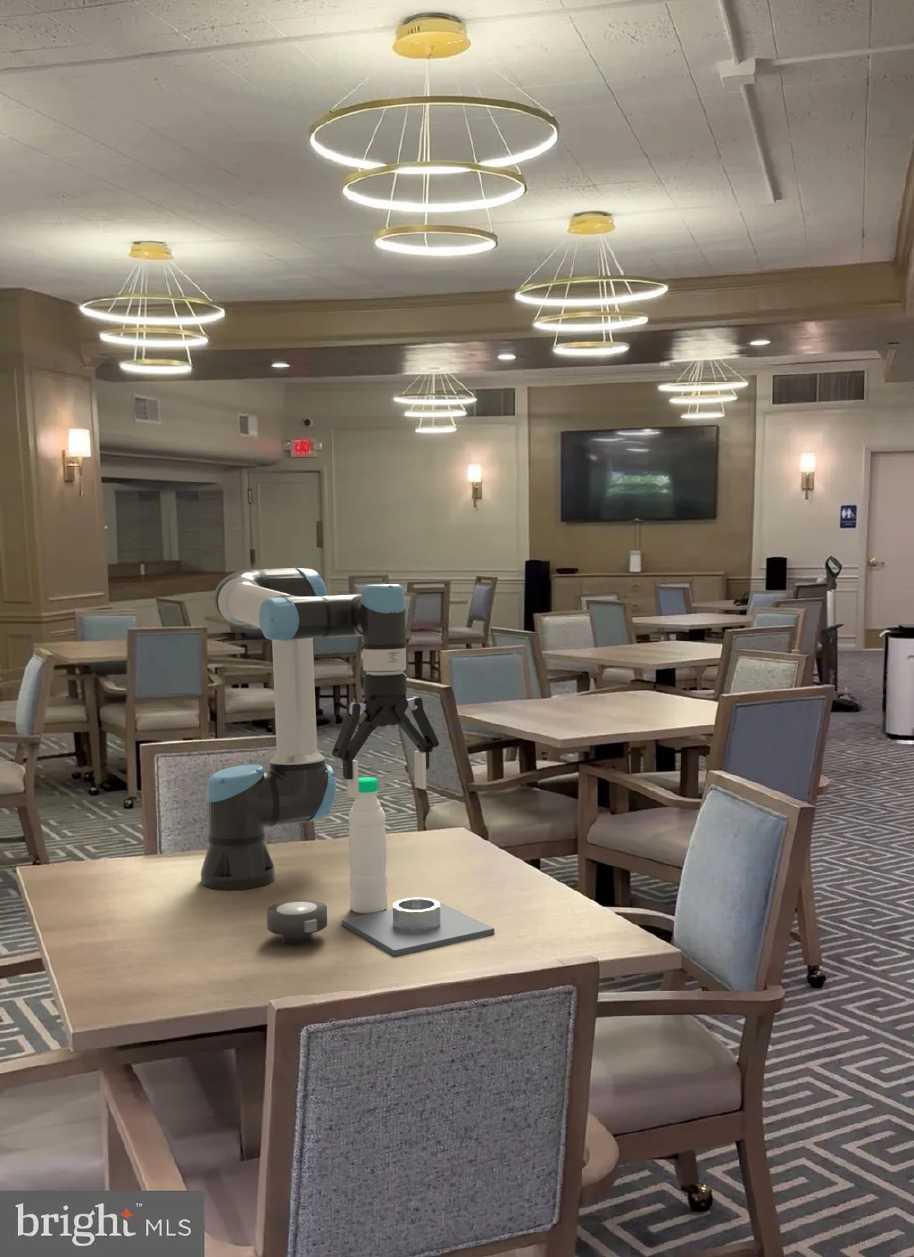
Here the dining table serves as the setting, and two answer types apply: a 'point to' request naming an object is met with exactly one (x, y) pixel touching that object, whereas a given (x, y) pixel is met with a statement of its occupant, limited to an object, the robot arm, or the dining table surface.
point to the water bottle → (367, 850)
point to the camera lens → (297, 920)
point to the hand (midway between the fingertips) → (387, 792)
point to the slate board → (403, 942)
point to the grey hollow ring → (416, 914)
